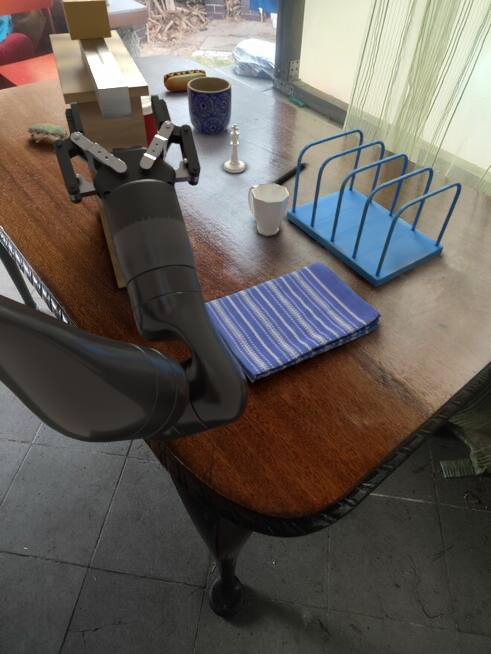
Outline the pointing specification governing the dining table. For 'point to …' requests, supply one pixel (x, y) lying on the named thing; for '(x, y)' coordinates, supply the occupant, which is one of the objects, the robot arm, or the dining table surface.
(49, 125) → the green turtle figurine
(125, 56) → the stand
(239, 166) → the chess piece
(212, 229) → the dining table surface
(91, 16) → the mallet
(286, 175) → the pen
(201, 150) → the dining table surface
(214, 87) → the planter
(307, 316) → the dish towel
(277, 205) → the cup
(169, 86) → the hot dog
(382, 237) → the file sorter
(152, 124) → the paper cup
